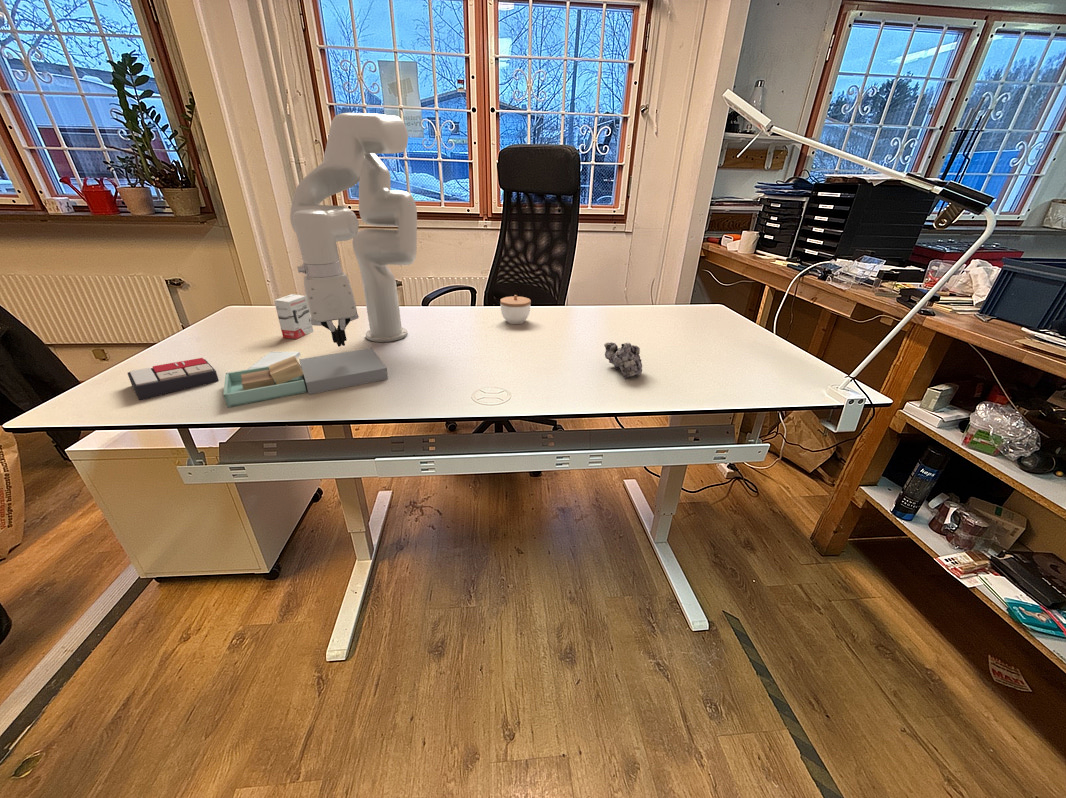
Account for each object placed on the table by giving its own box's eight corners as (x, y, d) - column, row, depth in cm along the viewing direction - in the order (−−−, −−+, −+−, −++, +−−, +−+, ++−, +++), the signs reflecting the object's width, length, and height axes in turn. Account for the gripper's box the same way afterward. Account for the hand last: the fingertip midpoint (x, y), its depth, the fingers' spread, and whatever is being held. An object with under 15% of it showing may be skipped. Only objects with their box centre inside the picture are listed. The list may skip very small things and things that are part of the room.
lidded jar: (499, 317, 155) (499, 291, 151) (528, 317, 156) (529, 291, 152) (501, 326, 146) (500, 299, 141) (531, 325, 147) (532, 299, 142)
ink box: (296, 339, 129) (287, 301, 124) (282, 338, 130) (272, 300, 125) (314, 331, 137) (306, 294, 131) (301, 329, 138) (292, 293, 132)
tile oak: (275, 376, 102) (268, 365, 100) (300, 366, 104) (294, 355, 102) (277, 385, 98) (270, 374, 96) (303, 374, 100) (297, 363, 98)
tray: (229, 384, 101) (225, 373, 99) (301, 372, 108) (298, 361, 107) (227, 407, 91) (223, 395, 89) (306, 392, 98) (303, 380, 97)
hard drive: (269, 351, 117) (245, 369, 106) (299, 351, 118) (278, 368, 107) (271, 357, 118) (247, 375, 107) (301, 356, 119) (280, 374, 108)
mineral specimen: (599, 348, 117) (618, 326, 110) (628, 358, 120) (649, 336, 112) (600, 383, 110) (621, 362, 103) (631, 393, 113) (653, 372, 105)
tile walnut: (245, 386, 99) (241, 374, 98) (274, 380, 102) (270, 369, 101) (245, 396, 95) (241, 384, 93) (276, 390, 98) (272, 378, 96)
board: (301, 370, 109) (299, 359, 108) (373, 357, 118) (371, 347, 116) (308, 394, 97) (305, 382, 96) (388, 378, 106) (386, 367, 104)
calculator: (215, 368, 101) (132, 383, 91) (220, 384, 103) (139, 401, 93) (204, 355, 108) (125, 369, 98) (208, 371, 110) (132, 386, 99)
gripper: (288, 277, 90) (309, 355, 99) (361, 269, 96) (375, 343, 106) (285, 269, 95) (306, 344, 104) (354, 262, 102) (368, 334, 111)
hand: (340, 344), depth 105 cm, fingers closed
